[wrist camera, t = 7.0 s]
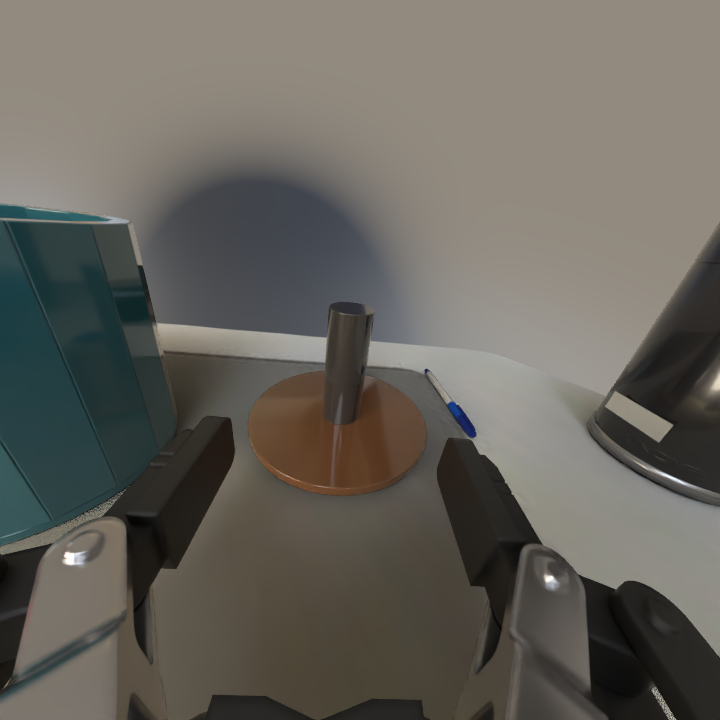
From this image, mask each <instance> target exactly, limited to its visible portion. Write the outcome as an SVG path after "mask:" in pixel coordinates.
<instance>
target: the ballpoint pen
mask: <svg viewBox="0 0 720 720" xmlns="http://www.w3.org/2000/svg"><path fill="white" fill-rule="evenodd" d="M425 373H426V375H427V377H428V378H429V380H430V381H431V382H432V384H433V385H434V387H435V388H436V390H437V391H438V392H439V394H440V395H441V397H442V398H443V400H444V401H445V402H446V404H447V405H448V408H449V409H450V411H451V412H452V414H453V415H454V416H455V418H456V419H457V421H458V422H459V424H460V425H461V427H462V428H463V429H464V431H465V432H466V433H467V434H468V435H469V436H470V437H471V438H474V437H475V436H476V432H475V428H474V426H473V425H472V423H471V422H470V420H469V418H468V417H467V416H466V414H465V413H464V412H463V410H462V409H461V408H460V406H459V405H456V403H455V402H453V400H452V399H451V398H450V396H449V395H448V394H447V392H446V391H445V390H444V388H443V387H442V386H441V384H440V383H439V382H438V380H437V379H436V378H435V376H434V375H433V374H432V372H431V371H430V370H428V369H425Z"/></svg>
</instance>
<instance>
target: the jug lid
mask: <svg viewBox="0 0 720 720" xmlns="http://www.w3.org/2000/svg"><path fill="white" fill-rule="evenodd" d="M374 313H375V311H374V310H373V309H372V308H371V307H368V306H366V305H362V304H358V303H350V302H338V303H333V304H331V305H330V306H329V316H328V330H327V345H326V359H325V371H316V372H309V373H304V374H300V375H296V376H293V377H290V378H288V379H285V380H283V381H281V382H279V383H277V384H275V385H274V386H272V387H271V388H269V389H268V390H267V391H266V392H264V393H263V394H262V395H261V396H260V397H259V399H258V400H257V401H256V403H255V404H254V406H253V408H252V410H251V412H250V415H249V420H248V434H249V440H250V444H251V447H252V449H253V451H254V454H255V455H256V457H257V458H258V459H259V461H260V462H261V463H262V464H263V465H264V466H265V467H266V468H267V469H268V470H269V471H270V472H271V473H272V474H274V475H275V476H277V477H278V478H279V479H281V480H283V481H285V482H287V483H289V484H290V485H292V486H295V487H298V488H301V489H303V490H306V491H310V492H315V493H319V494H326V495H336V496H342V495H358V494H365V493H370V492H373V491H377V490H381V489H383V488H385V487H388V486H390V485H392V484H394V483H396V482H397V481H399V480H401V479H402V478H403V477H405V476H406V475H407V474H408V473H409V472H410V471H412V469H413V468H414V467H415V466H416V464H417V463H418V461H419V459H420V458H421V456H422V453H423V450H424V446H425V443H426V435H427V433H426V425H425V422H424V419H423V417H422V415H421V413H420V411H419V409H418V408H417V406H416V405H415V404H414V403H413V402H412V401H411V400H410V399H409V398H408V397H407V396H406V395H405V394H404V393H402V392H401V391H399V390H398V389H396V388H395V387H393V386H391V385H390V384H388V383H386V382H383V381H381V380H379V379H376V378H373V377H370V376H367V375H365V374H366V367H367V360H368V353H369V347H370V340H371V332H372V327H373V326H372V325H373V319H374Z"/></svg>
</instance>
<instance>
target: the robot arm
mask: <svg viewBox="0 0 720 720" xmlns="http://www.w3.org/2000/svg"><path fill="white" fill-rule="evenodd" d="M588 428H589V430H590V432H591V434H592V435H593V437H594V438H595V439H596V440H597V441H598V442H599V443H600V444H601V445H602V446H603V447H604V448H605V449H606V450H607V451H608V452H610V453H611V454H612V455H613V456H615V457H616V458H617V459H619V460H620V461H622V462H623V463H625V464H626V465H627V466H629V467H631V468H632V469H634V470H635V471H637V472H639V473H640V474H642V475H644V476H646V477H648V478H649V479H651V480H653V481H655V482H657V483H659V484H661V485H663V486H665V487H667V488H669V489H672V490H674V491H676V492H678V493H681V494H683V495H686V496H688V497H691V498H694V499H697V500H699V501H703V502H706V503H709V504H713V505H717V506H720V223H719V224H718V226H717V227H716V229H715V230H714V232H713V233H712V235H711V237H710V238H709V240H708V241H707V243H706V244H705V246H704V247H703V249H702V251H701V252H700V253H699V255H698V257H697V258H696V260H695V262H694V263H693V265H692V266H691V268H690V269H689V271H688V272H687V274H686V276H685V277H684V279H683V280H682V282H681V283H680V285H679V286H678V288H677V289H676V291H675V292H674V294H673V296H672V297H671V298H670V300H669V301H668V303H667V305H666V306H665V308H664V309H663V311H662V312H661V314H660V315H659V317H658V318H657V320H656V321H655V323H654V324H653V326H652V328H651V329H650V331H649V332H648V334H647V335H646V337H645V339H644V340H643V341H642V343H641V344H640V346H639V348H638V349H637V351H636V352H635V354H634V355H633V357H632V358H631V360H630V361H629V363H628V364H627V366H626V367H625V369H624V371H623V372H622V374H621V375H620V377H619V378H618V380H617V381H616V383H615V384H614V386H613V387H612V389H611V390H610V392H609V393H608V395H607V396H606V398H605V399H604V401H603V402H602V404H601V405H600V407H599V409H598V410H597V411H595V412H594V414H593V415H592V417H591V418H590V420H589V422H588ZM234 454H235V447H234V439H233V431H232V423H231V419H230V418H228V417H218V416H205V417H204V418H203V419H202V420H201V421H200V422H199V424H198V425H197V426H196V427H195V429H194V430H191V429H186V430H185V431H183V432H182V433H180V434H179V435H177V436H176V437H174V438H173V439H171V440H170V441H169V442H168V443H167V445H166V446H165V447H164V448H163V449H162V450H161V451H160V454H159V455H157V456H156V457H155V458H154V459H153V460H152V462H151V463H150V465H149V467H148V466H147V467H146V468H145V469H144V471H143V472H142V473H141V474H140V475H139V476H138V477H137V478H136V480H135V481H134V482H133V483H132V484H131V485H130V486H129V488H128V489H127V490H126V491H125V492H124V493H123V494H122V495H121V497H120V498H119V499H118V500H117V501H116V502H115V503H114V504H113V506H112V507H111V508H110V509H109V510H108V511H107V512H106V513H105V514H104V515H103V516H102V517H100V518H96V519H93V520H90V521H87V522H85V523H83V524H81V525H79V526H77V527H75V528H73V529H72V530H70V531H69V532H67V533H66V534H64V535H63V536H62V537H60V538H59V539H58V540H57V541H56V542H55V543H52V544H48V545H44V546H40V547H35V548H31V549H26V550H22V551H18V552H13V553H9V554H5V555H1V554H0V720H168V719H167V708H166V700H165V694H164V688H163V684H162V680H161V676H160V671H159V663H158V650H157V637H156V623H155V609H154V596H153V586H152V583H153V581H154V580H155V578H156V576H157V574H158V573H159V571H160V569H161V568H166V569H177V567H178V565H179V563H180V561H181V559H182V557H183V555H184V554H185V552H186V550H187V548H188V546H189V544H190V542H191V540H192V539H193V537H194V535H195V533H196V531H197V529H198V527H199V525H200V524H201V522H202V520H203V518H204V516H205V514H206V512H207V510H208V509H209V507H210V505H211V503H212V501H213V499H214V497H215V495H216V494H217V492H218V490H219V488H220V486H221V484H222V482H223V480H224V478H225V477H226V475H227V473H228V471H229V469H230V467H231V465H232V462H233V459H234ZM437 480H438V484H439V488H440V491H441V494H442V497H443V500H444V503H445V507H446V510H447V513H448V516H449V519H450V522H451V525H452V529H453V532H454V535H455V538H456V541H457V544H458V548H459V551H460V554H461V557H462V560H463V563H464V566H465V570H466V573H467V576H468V579H469V582H470V585H471V586H479V587H485V589H486V592H487V595H488V599H487V601H486V604H485V608H484V612H483V616H482V621H481V625H480V629H479V633H478V637H477V642H476V646H475V650H474V654H473V658H472V663H471V667H470V671H469V675H468V678H467V681H466V684H465V686H464V688H463V691H462V693H461V695H460V698H459V701H458V704H457V707H456V710H455V713H454V717H453V720H669V719H668V718H667V716H666V714H665V713H664V711H663V709H662V708H661V706H660V704H659V703H658V701H657V699H656V698H655V696H654V694H653V693H652V691H651V689H652V688H653V687H655V686H656V688H657V689H658V691H659V692H660V694H661V696H662V697H663V699H664V701H665V702H666V704H667V705H668V707H669V709H670V710H671V712H672V714H673V715H674V717H675V718H676V720H720V658H719V656H718V655H717V654H716V653H715V651H714V650H713V649H712V648H711V646H710V645H709V644H708V643H707V642H706V640H705V639H704V638H703V637H702V635H701V634H700V633H699V632H698V630H697V629H696V628H695V627H694V625H693V624H692V623H691V622H690V621H689V619H688V618H687V617H686V616H685V615H684V614H683V613H682V612H681V611H680V610H679V609H678V608H677V607H676V606H675V605H674V604H673V603H672V602H671V601H670V600H668V599H667V598H666V597H665V596H663V595H662V594H660V593H659V592H657V591H656V590H654V589H653V588H651V587H649V586H647V585H645V584H642V583H640V582H636V581H626V582H624V583H623V584H622V585H620V586H619V587H618V588H617V589H613V588H611V587H608V586H606V585H603V584H601V583H598V582H596V581H593V580H591V579H588V578H585V577H583V576H581V575H578V574H577V573H576V572H575V570H574V569H573V568H572V566H571V565H570V564H569V563H568V562H567V561H566V560H565V559H564V558H563V557H562V556H560V555H559V554H558V553H556V552H555V551H553V550H552V549H550V548H548V547H546V546H543V544H542V543H541V541H540V540H539V538H538V536H537V535H536V533H535V531H534V529H533V528H532V526H531V524H530V523H529V521H528V519H527V518H526V516H525V514H524V512H523V511H522V509H521V507H520V506H519V504H518V502H517V500H516V499H515V497H514V495H512V494H511V490H510V488H509V487H508V485H507V483H505V480H504V478H503V477H502V475H501V473H500V471H499V470H498V468H497V467H496V466H495V465H494V464H493V463H492V462H491V461H490V460H489V459H488V458H487V457H486V456H485V455H480V454H479V453H478V451H477V449H476V447H475V445H474V443H473V442H472V441H471V440H470V439H461V438H448V440H447V442H446V444H445V447H444V450H443V453H442V456H441V458H440V461H439V464H438V468H437ZM10 678H11V679H10ZM9 679H10V681H9ZM8 681H9V683H8V685H7V686H6V687H5V688H4V686H5V685H6V683H7V682H8ZM3 688H4V689H3ZM190 720H315V719H312V718H310V717H308V716H306V715H304V714H302V713H299V712H297V711H295V710H293V709H291V708H289V707H287V706H285V705H283V704H281V703H279V702H277V701H275V700H273V699H271V698H269V697H267V696H238V695H212V699H211V702H210V705H209V708H208V711H207V712H204V713H202V714H199V715H197V716H196V717H194V718H192V719H190ZM321 720H430V719H428V718H426V717H424V714H423V707H422V700H403V699H370V700H368V701H366V702H363V703H361V704H358V705H356V706H353V707H351V708H349V709H346V710H344V711H341V712H339V713H337V714H334V715H332V716H329V717H327V718H325V719H321Z"/></svg>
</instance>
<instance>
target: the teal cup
mask: <svg viewBox="0 0 720 720" xmlns="http://www.w3.org/2000/svg"><path fill="white" fill-rule="evenodd" d="M177 425H178V419H177V414H176V404H175V400H174V396H173V391H172V387H171V383H170V379H169V375H168V370H167V366H166V362H165V358H164V353H163V349H162V345H161V341H160V337H159V332H158V328H157V324H156V320H155V316H154V311H153V307H152V303H151V299H150V294H149V290H148V286H147V282H146V277H145V273H144V269H143V265H142V261H141V256H140V252H139V248H138V244H137V240H136V235H135V231H134V227H133V223H132V222H131V221H128V220H124V219H120V218H116V217H110V216H103V215H96V214H89V213H82V212H74V211H65V210H58V209H49V208H41V207H32V206H24V205H15V204H5V203H0V546H2V545H5V544H9V543H12V542H15V541H18V540H21V539H24V538H27V537H29V536H32V535H35V534H37V533H40V532H43V531H45V530H48V529H50V528H52V527H54V526H57V525H59V524H61V523H64V522H66V521H68V520H70V519H72V518H74V517H76V516H78V515H80V514H82V513H84V512H86V511H88V510H90V509H92V508H94V507H95V506H97V505H99V504H100V503H102V502H104V501H106V500H107V499H109V498H111V497H112V496H114V495H115V494H117V493H118V492H120V491H121V490H123V489H124V488H126V487H127V486H129V485H130V484H131V483H132V482H134V481H135V480H136V478H137V477H138V476H139V475H140V474H141V473H142V472H143V471H144V469H145V468H146V467H147V466H148V467H149V465H150V463H151V462H152V460H153V459H154V458H155V457H156V456H157V455H159V454H160V451H161V450H162V449H163V448H164V447H165V446H166V445H167V443H168V442H169V441H170V440H171V439H173V438H174V436H175V433H176V430H177Z"/></svg>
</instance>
